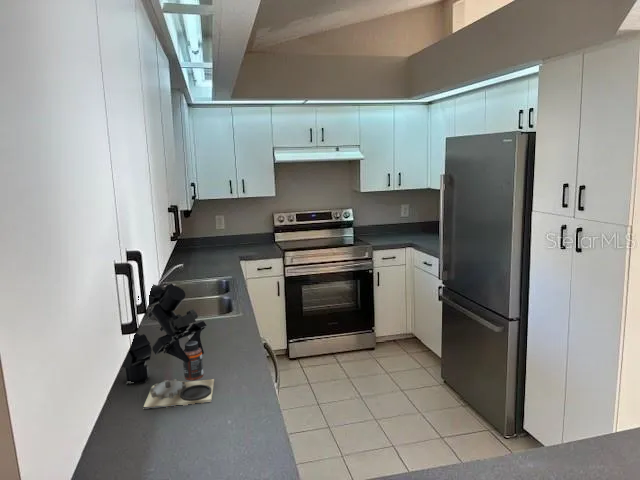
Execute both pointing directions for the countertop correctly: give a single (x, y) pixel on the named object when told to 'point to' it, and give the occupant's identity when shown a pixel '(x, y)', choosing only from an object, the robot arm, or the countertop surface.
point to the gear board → (180, 393)
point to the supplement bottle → (193, 361)
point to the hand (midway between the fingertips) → (195, 358)
